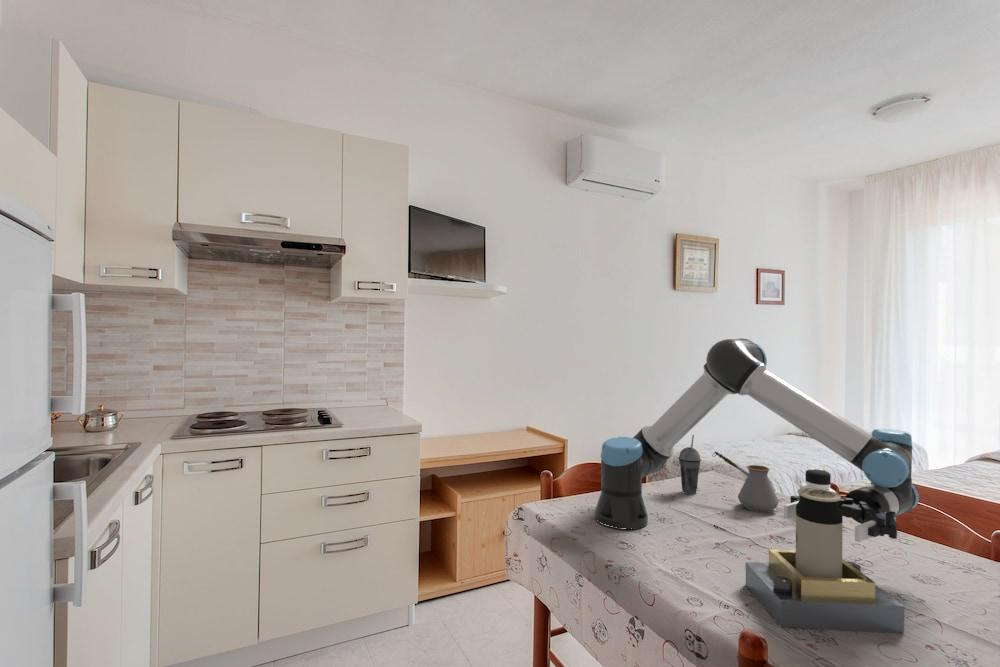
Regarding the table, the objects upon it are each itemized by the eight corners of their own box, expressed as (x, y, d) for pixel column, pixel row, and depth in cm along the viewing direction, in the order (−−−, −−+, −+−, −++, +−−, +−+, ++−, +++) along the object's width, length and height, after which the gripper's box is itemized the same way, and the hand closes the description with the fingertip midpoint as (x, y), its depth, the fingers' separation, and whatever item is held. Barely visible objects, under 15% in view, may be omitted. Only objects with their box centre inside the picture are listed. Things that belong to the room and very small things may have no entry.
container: (837, 517, 151) (837, 474, 151) (808, 515, 153) (809, 473, 153) (826, 509, 159) (826, 467, 159) (799, 507, 160) (799, 466, 160)
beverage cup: (674, 489, 177) (675, 432, 177) (694, 489, 178) (695, 432, 178) (683, 496, 170) (684, 437, 170) (704, 495, 171) (705, 437, 171)
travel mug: (849, 584, 101) (849, 495, 101) (831, 596, 96) (832, 502, 96) (806, 569, 107) (807, 485, 107) (788, 579, 103) (788, 491, 103)
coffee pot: (785, 510, 157) (786, 462, 157) (766, 517, 151) (766, 467, 151) (723, 491, 175) (723, 448, 175) (702, 497, 169) (703, 453, 169)
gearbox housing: (780, 627, 95) (781, 582, 95) (745, 584, 111) (745, 546, 111) (904, 633, 93) (904, 587, 93) (850, 588, 109) (850, 549, 109)
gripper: (940, 541, 102) (892, 566, 91) (812, 504, 123) (760, 520, 112) (941, 504, 101) (892, 524, 91) (812, 474, 123) (760, 487, 112)
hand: (819, 522), depth 101 cm, fingers open, 13 cm apart
